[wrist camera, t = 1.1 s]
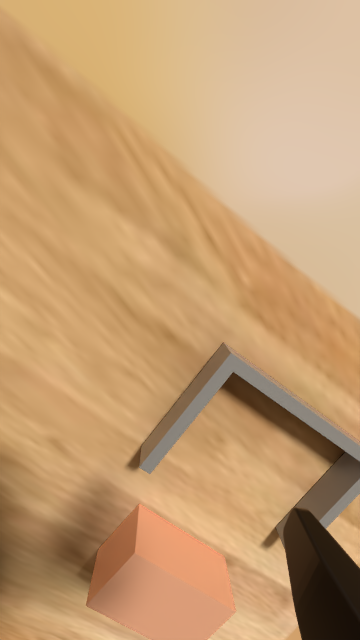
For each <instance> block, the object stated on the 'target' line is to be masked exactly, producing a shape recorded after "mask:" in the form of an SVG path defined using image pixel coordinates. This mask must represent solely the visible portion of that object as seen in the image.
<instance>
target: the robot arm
mask: <svg viewBox="0 0 360 640" xmlns="http://www.w3.org/2000/svg"><path fill="white" fill-rule="evenodd" d="M283 539H284V545H285V552H286V558H287V564H288V571H289V577H290V583H291V590H292V596H293V602H294V607H295V612H296V617H297V621H298V625H299V629H300V633H301V638H302V640H360V568H359V567H358V566H357V565H356V563H355V562H354V561H353V560H352V559H351V558H350V556H349V555H348V554H347V553H346V552H345V551H344V549H343V548H342V547H341V546H340V545H339V544H338V543H337V541H336V540H335V539H334V538H333V537H332V536H331V534H330V533H329V532H328V531H327V530H326V529H325V528H324V526H323V525H322V524H321V523H320V522H319V521H318V519H317V518H316V517H315V516H314V515H313V514H312V513H311V512H310V511H309V510H308V509H305V508H299V507H293V508H292V509H291V511H290V513H289V516H288V518H287V521H286V523H285V525H284V529H283Z"/></svg>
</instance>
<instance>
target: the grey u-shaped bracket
mask: <svg viewBox="0 0 360 640" xmlns="http://www.w3.org/2000/svg"><path fill="white" fill-rule="evenodd" d="M233 372H234V373H236V374H237V375H239V376H240V377H241V378H243V379H244V380H246V381H247V382H248V383H250V384H251V385H253V386H254V387H255V388H257V389H258V390H260V391H261V392H262V393H264V394H265V395H267V396H268V397H270V398H271V399H272V400H274V401H275V402H277V403H278V404H279V405H281V406H282V407H284V408H285V409H286V410H288V411H289V412H291V413H292V414H294V415H295V416H296V417H298V418H299V419H301V420H302V421H303V422H305V423H306V424H308V425H309V426H310V427H312V428H313V429H315V430H316V431H317V432H319V433H320V434H322V435H323V436H325V437H326V438H327V439H329V440H330V441H332V442H333V443H334V444H336V445H337V446H339V447H340V448H341V449H343V450H344V451H346V452H345V453H344V454H343V455H342V456H341V457H340V458H339V459H338V460H337V461H336V462H335V464H334V465H333V466H332V467H331V468H330V469H329V470H328V471H327V472H326V473H325V474H324V475H323V476H322V478H321V479H320V480H319V481H318V482H317V483H316V484H315V485H314V486H313V487H312V488H311V489H310V490H309V492H308V493H307V494H306V495H305V496H304V497H303V498H302V499H301V500H300V501H299V502H298V503H297V505H296V506H295V507H299V508H305V509H308V510H309V511H310V512H311V513H312V514H313V515H314V516H315V517H316V518H317V519H318V521H319V522H320V523H321V524H322V525H323V526H324V528H325V529H326V528H327V527H328V526H329V525H330V524H331V523H332V522H333V521H334V520H335V519H336V518H337V517H338V515H339V514H340V513H341V512H342V511H343V510H344V509H345V508H346V507H347V506H348V505H349V504H350V503H351V502H352V501H353V500H354V499H355V498H356V497H357V496H358V495H359V494H360V441H358V440H357V439H356V438H354V437H353V436H352V435H350V434H349V433H347V432H346V431H345V430H343V429H342V428H341V427H339V426H338V425H336V424H335V423H334V422H332V421H331V420H330V419H328V418H327V417H325V416H324V415H323V414H321V413H320V412H319V411H317V410H316V409H314V408H313V407H312V406H310V405H309V404H308V403H306V402H305V401H303V400H302V399H301V398H299V397H298V396H297V395H295V394H294V393H292V392H291V391H290V390H288V389H287V388H286V387H284V386H283V385H281V384H280V383H279V382H277V381H276V380H275V379H273V378H272V377H270V376H269V375H268V374H266V373H265V372H264V371H262V370H261V369H259V368H258V367H257V366H255V365H254V364H253V363H251V362H250V361H248V360H247V359H246V358H244V357H243V356H242V355H240V354H239V353H237V352H236V351H235V350H233V349H232V348H231V347H229V346H228V345H226V344H225V343H223V344H222V345H221V346H220V348H219V349H218V350H217V351H216V353H215V354H214V355H213V356H212V358H211V359H210V360H209V361H208V363H207V364H206V365H205V366H204V368H203V369H202V370H201V372H200V373H199V374H198V375H197V377H196V378H195V379H194V380H193V382H192V383H191V384H190V385H189V387H188V388H187V389H186V390H185V392H184V393H183V394H182V395H181V397H180V398H179V399H178V401H177V402H176V403H175V404H174V406H173V407H172V408H171V409H170V411H169V412H168V413H167V414H166V416H165V417H164V418H163V419H162V421H161V422H160V423H159V424H158V426H157V427H156V428H155V430H154V431H153V432H152V433H151V435H150V436H149V437H148V438H147V440H146V441H145V442H144V443H143V445H142V446H141V455H140V464H139V468H141V469H142V470H144V471H146V472H147V473H149V474H151V472H152V471H153V470H154V469H155V467H156V466H157V465H158V464H159V462H160V461H161V460H162V459H163V458H164V456H165V455H166V454H167V453H168V451H169V450H170V449H171V448H172V446H173V445H174V444H175V443H176V442H177V440H178V439H179V438H180V437H181V435H182V434H183V433H184V432H185V431H186V429H187V428H188V427H189V426H190V424H191V423H192V422H193V421H194V419H195V418H196V417H197V416H198V415H199V413H200V412H201V411H202V410H203V408H204V407H205V406H206V405H207V403H208V402H209V401H210V400H211V399H212V397H213V396H214V395H215V394H216V392H217V391H218V390H219V389H220V387H221V386H222V385H223V384H224V383H225V381H226V380H227V379H228V378H229V376H230V375H231V374H232V373H233ZM289 513H290V512H289ZM289 513H288V514H287V515H286V516H285V517H284V519H283V520H282V521H281V522H280V523H279V524H278V525H277V526H276V530H277V532H278V534H279V537H280V539H281V541H282V544H283V546H284V548H285V545H284V539H283V529H284V525H285V523H286V521H287V518H288V516H289Z"/></svg>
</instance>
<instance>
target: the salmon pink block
mask: <svg viewBox="0 0 360 640" xmlns="http://www.w3.org/2000/svg"><path fill="white" fill-rule="evenodd" d="M86 606H87V607H89V608H91V609H93V610H95V611H97V612H99V613H101V614H103V615H105V616H107V617H109V618H110V619H112V620H114V621H116V622H118V623H120V624H122V625H124V626H126V627H128V628H130V629H132V630H134V631H136V632H137V633H139V634H141V635H143V636H145V637H147V638H149V639H151V640H207V639H208V638H209V637H210V636H211V635H213V634H214V633H215V632H216V631H217V630H218V629H219V628H220V627H221V626H222V625H223V624H224V623H225V622H226V621H227V620H228V619H229V618H230V617H231V616H232V615H233V614H234V613H235V612H236V609H235V604H234V599H233V594H232V590H231V585H230V580H229V575H228V571H227V566H226V561H225V557H224V556H223V555H221V554H220V553H218V552H216V551H215V550H213V549H212V548H210V547H208V546H207V545H205V544H204V543H202V542H200V541H199V540H197V539H195V538H194V537H192V536H191V535H189V534H187V533H186V532H184V531H183V530H181V529H179V528H178V527H176V526H175V525H173V524H171V523H170V522H168V521H166V520H165V519H163V518H162V517H160V516H158V515H157V514H155V513H154V512H152V511H150V510H149V509H147V508H146V507H144V506H142V505H141V504H139V505H138V506H137V507H136V508H135V509H134V510H133V511H132V512H131V513H130V515H129V516H128V517H127V518H126V519H125V520H124V521H123V522H122V523H121V525H120V526H119V527H118V528H117V529H116V530H115V531H114V532H113V533H112V535H111V536H110V537H109V538H108V539H107V540H106V541H105V542H104V543H103V544H102V546H101V547H100V548H99V549H98V552H97V557H96V561H95V566H94V571H93V575H92V580H91V584H90V589H89V593H88V598H87V602H86Z"/></svg>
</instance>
